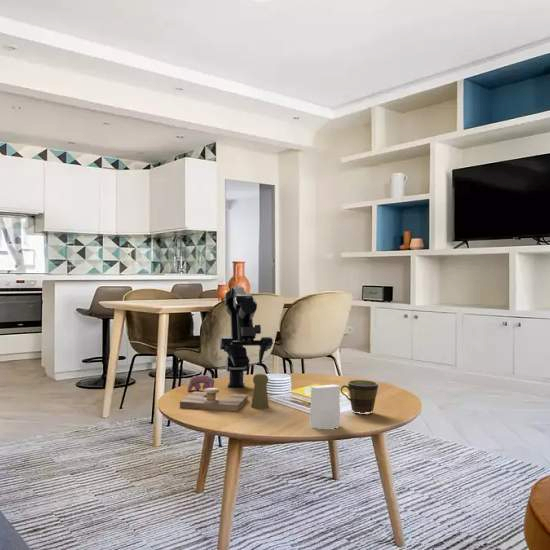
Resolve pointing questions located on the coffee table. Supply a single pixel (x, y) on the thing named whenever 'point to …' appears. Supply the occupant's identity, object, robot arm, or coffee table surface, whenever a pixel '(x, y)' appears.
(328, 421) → the upright rounded white block
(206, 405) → the notched board
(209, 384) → the purple toy elephant
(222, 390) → the coffee table surface
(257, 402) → the olive bulb shape
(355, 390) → the ceramic cup
